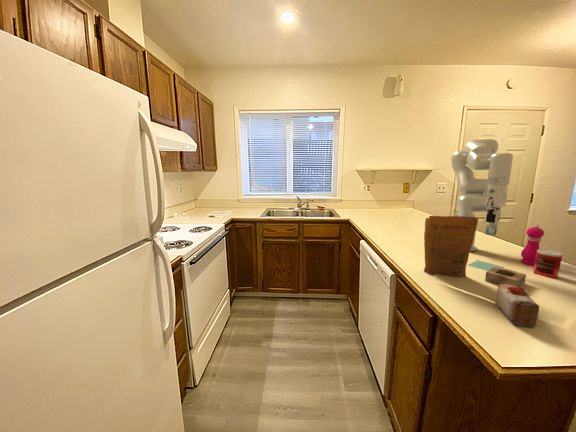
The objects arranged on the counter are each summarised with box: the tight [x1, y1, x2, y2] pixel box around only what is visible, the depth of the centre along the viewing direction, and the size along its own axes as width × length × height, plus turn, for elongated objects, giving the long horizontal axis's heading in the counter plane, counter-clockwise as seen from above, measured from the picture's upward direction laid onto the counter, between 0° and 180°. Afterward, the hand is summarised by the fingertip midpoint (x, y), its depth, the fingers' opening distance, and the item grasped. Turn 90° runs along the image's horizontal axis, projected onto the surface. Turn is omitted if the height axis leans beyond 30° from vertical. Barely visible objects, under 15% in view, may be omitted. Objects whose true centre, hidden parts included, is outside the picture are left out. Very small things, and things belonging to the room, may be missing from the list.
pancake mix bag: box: [423, 215, 479, 278], centre depth 109 cm, size 7×19×28 cm, turn 61°
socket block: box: [484, 266, 527, 288], centre depth 102 cm, size 10×10×5 cm
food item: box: [495, 284, 540, 329], centre depth 81 cm, size 14×8×10 cm, turn 160°
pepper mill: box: [520, 223, 545, 267], centre depth 120 cm, size 7×7×20 cm
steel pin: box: [484, 208, 501, 236], centre depth 114 cm, size 4×4×12 cm
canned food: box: [532, 248, 563, 280], centre depth 108 cm, size 8×8×11 cm
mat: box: [467, 259, 505, 272], centre depth 118 cm, size 11×11×1 cm
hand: (492, 221), depth 114 cm, fingers closed on steel pin, 4 cm apart
